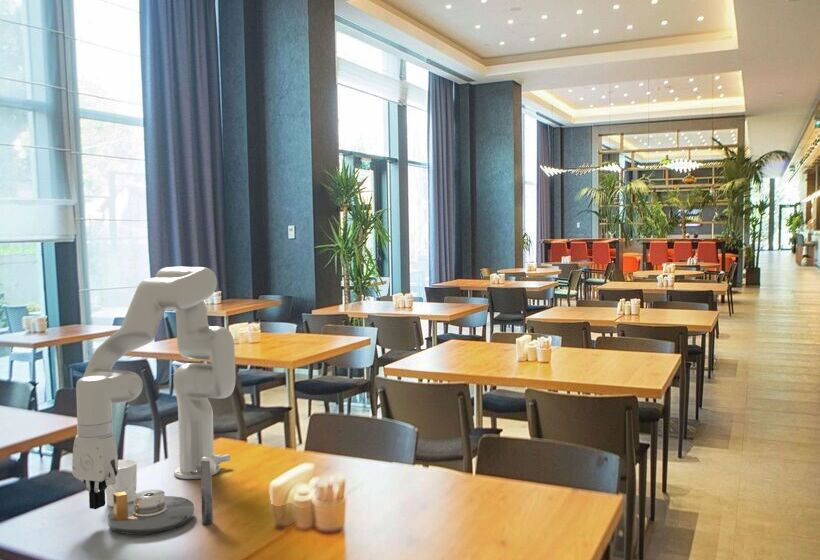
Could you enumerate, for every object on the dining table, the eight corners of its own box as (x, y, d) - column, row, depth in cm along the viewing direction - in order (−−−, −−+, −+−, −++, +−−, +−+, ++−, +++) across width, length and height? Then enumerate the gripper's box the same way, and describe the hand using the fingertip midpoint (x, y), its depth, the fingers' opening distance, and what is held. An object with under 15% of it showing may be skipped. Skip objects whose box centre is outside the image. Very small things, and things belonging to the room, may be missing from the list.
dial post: (218, 521, 169) (216, 455, 168) (214, 525, 167) (213, 458, 166) (194, 520, 170) (192, 455, 169) (190, 524, 167) (188, 458, 166)
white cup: (126, 509, 178) (125, 469, 177) (98, 507, 179) (96, 468, 179) (144, 498, 185) (143, 460, 185) (116, 496, 187) (115, 458, 186)
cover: (159, 503, 174) (158, 486, 174) (171, 511, 168) (171, 494, 168) (127, 510, 169) (127, 494, 169) (139, 520, 163) (138, 502, 163)
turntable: (178, 497, 182) (177, 469, 182) (205, 520, 167) (205, 489, 167) (99, 515, 171) (98, 485, 171) (121, 541, 156) (120, 508, 155)
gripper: (58, 430, 166) (60, 508, 167) (107, 436, 160) (109, 517, 161) (84, 423, 173) (86, 497, 174) (132, 428, 167) (134, 505, 168)
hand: (97, 506), depth 167 cm, fingers closed
